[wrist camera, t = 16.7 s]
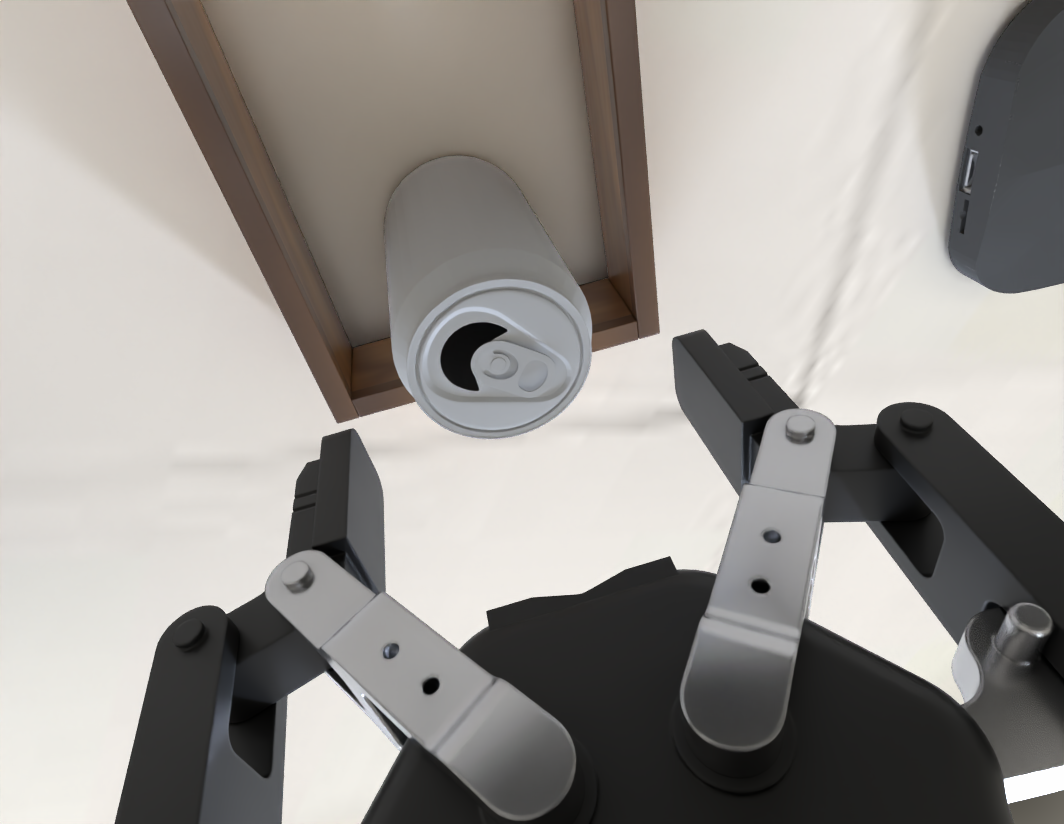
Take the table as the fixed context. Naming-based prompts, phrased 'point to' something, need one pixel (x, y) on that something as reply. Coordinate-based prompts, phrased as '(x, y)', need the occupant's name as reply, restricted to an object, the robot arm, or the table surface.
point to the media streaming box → (1015, 160)
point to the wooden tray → (280, 249)
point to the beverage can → (481, 302)
